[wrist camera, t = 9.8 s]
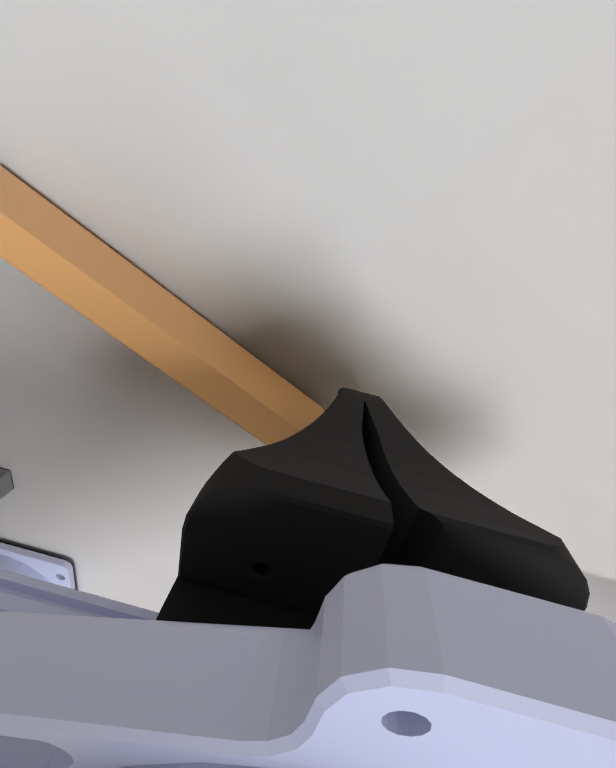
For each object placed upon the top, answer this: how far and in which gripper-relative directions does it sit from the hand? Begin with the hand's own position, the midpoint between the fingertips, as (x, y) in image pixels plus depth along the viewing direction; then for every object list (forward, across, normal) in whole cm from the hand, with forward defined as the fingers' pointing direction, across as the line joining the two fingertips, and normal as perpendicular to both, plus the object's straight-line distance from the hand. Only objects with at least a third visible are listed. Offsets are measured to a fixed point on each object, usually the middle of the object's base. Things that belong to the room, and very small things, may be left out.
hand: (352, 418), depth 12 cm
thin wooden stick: (+2, +8, -2) cm, 8 cm away
